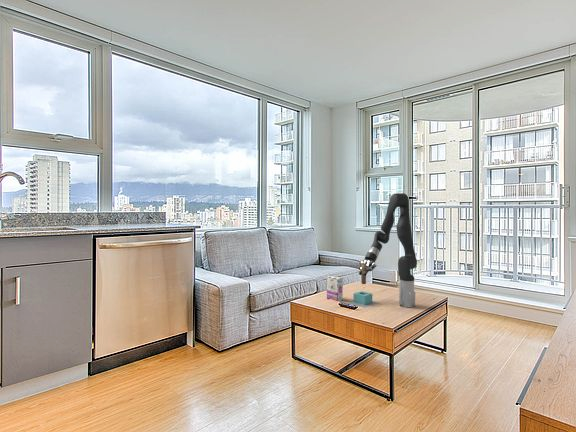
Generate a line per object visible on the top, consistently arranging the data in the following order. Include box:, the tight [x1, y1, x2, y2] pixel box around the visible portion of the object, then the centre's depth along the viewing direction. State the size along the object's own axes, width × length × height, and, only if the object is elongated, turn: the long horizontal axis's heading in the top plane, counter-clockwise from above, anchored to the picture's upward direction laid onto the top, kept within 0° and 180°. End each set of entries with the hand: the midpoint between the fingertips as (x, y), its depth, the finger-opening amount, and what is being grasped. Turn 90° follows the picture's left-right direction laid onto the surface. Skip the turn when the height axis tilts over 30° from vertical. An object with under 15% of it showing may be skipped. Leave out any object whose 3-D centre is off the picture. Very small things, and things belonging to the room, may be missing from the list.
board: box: [348, 300, 379, 308], centre depth 225 cm, size 14×16×1 cm
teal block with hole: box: [352, 290, 373, 305], centre depth 227 cm, size 9×9×6 cm
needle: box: [360, 263, 367, 285], centre depth 228 cm, size 3×3×14 cm
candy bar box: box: [326, 275, 344, 302], centre depth 234 cm, size 11×5×16 cm, turn 37°
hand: (361, 274), depth 227 cm, fingers closed on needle, 3 cm apart
